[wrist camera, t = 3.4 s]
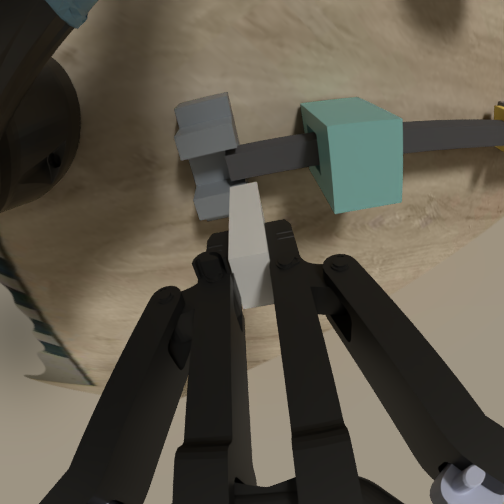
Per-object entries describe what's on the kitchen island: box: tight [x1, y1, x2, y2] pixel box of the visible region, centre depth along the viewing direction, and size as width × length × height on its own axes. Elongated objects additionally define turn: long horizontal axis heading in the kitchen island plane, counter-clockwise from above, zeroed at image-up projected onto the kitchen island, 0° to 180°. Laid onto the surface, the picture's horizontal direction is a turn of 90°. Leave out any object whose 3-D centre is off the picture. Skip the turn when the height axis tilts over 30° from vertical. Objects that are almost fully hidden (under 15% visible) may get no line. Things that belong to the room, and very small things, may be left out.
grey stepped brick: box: [174, 92, 248, 221], centre depth 24 cm, size 4×10×5 cm, turn 11°
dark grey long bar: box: [225, 106, 504, 181], centre depth 22 cm, size 34×4×4 cm, turn 101°
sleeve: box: [300, 97, 403, 214], centre depth 22 cm, size 5×6×8 cm
